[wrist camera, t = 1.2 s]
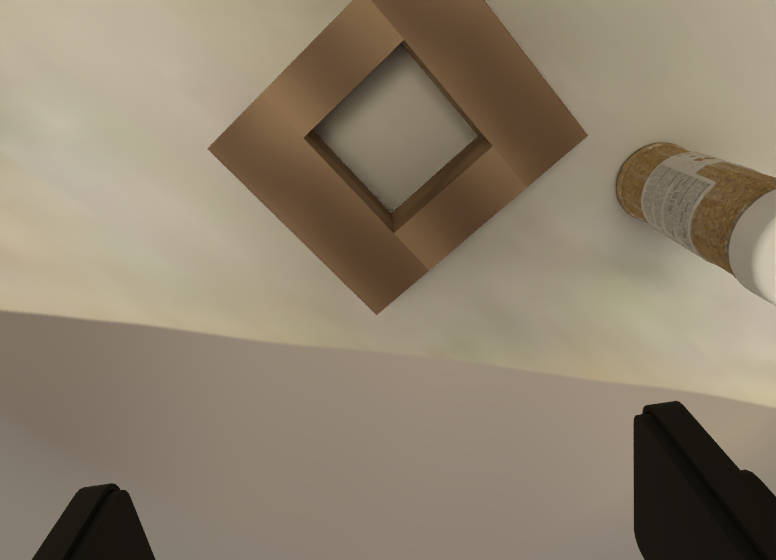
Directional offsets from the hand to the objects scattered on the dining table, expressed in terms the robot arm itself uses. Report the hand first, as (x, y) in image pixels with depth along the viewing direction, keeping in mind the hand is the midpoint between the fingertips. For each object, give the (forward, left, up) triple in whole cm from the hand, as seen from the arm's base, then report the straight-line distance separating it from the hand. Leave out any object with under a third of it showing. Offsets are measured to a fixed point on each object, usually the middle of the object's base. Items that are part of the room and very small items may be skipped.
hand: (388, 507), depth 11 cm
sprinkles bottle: (-12, +10, -25) cm, 29 cm away
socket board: (-3, -2, -24) cm, 25 cm away
